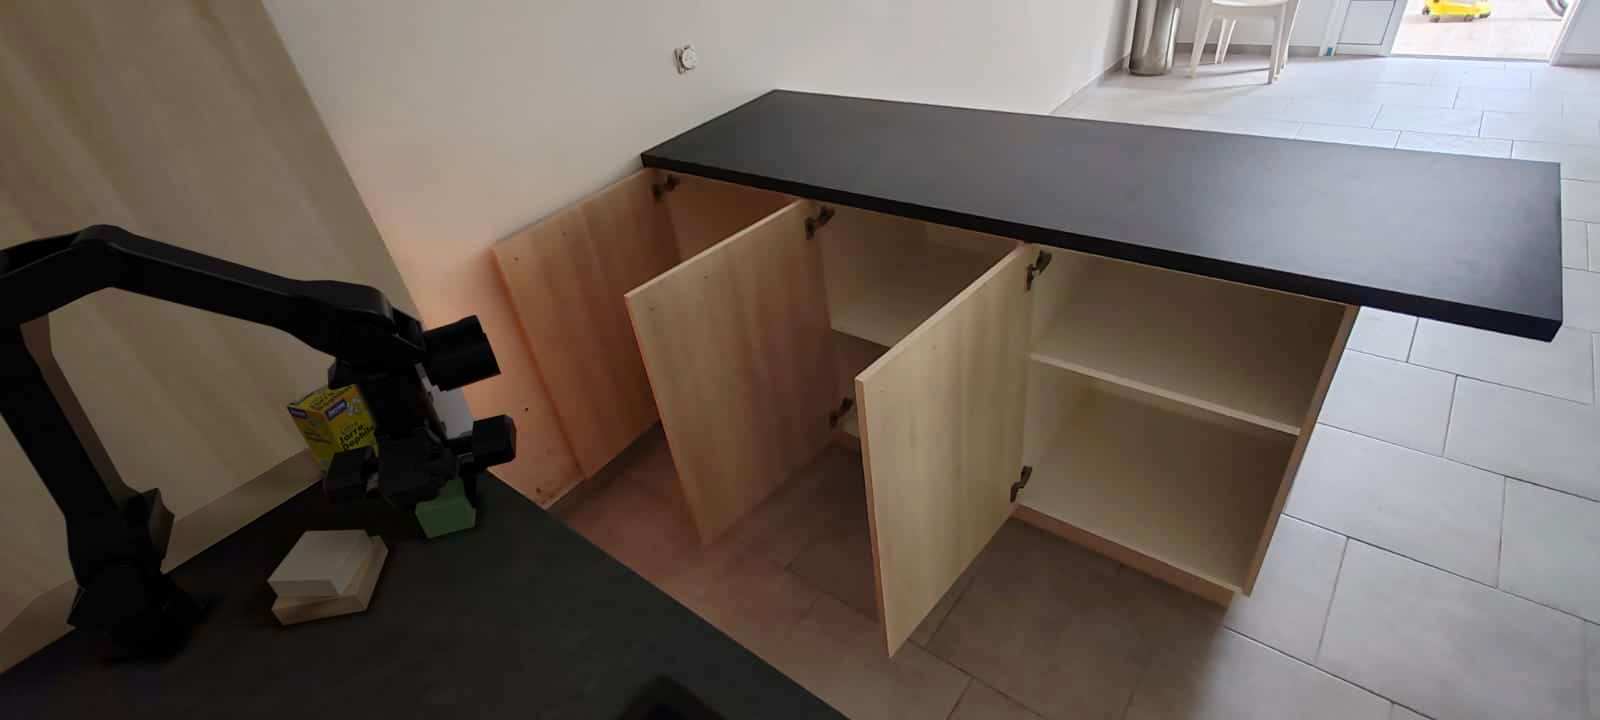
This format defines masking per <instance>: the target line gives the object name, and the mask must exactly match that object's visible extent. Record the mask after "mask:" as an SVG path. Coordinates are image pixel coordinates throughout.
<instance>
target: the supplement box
mask: <svg viewBox="0 0 1600 720" xmlns="http://www.w3.org/2000/svg"><path fill="white" fill-rule="evenodd" d="M294 401H295V400H294ZM291 402H292V403H291ZM291 402H289V403H288V404H286V406H285V407H286V410H287V409H288V410H289V411H288V410H287V411H288V413H289V415H290V414H291V415H290V417H291V416H292V417H291V418H292V420H293V422H294V423H295V425H296V428H297V429H298V431H299V433H300V434H301V436H302V438H303V437H304V438H303V440H304V442H305V443H306V442H307V443H306V445H307V444H308V445H309V446H308V445H307V446H308V448H309V447H310V448H311V450H312V452H313V453H314V455H315V457H316V458H317V460H318V462H319V464H320V465H321V467H322V468H323V470H322V469H321V471H322V473H323V474H324V475H325V474H326V471H327V469H328V466H329V463H330V460H331V458H332V456H333V455H334V453H337V452H341V451H345V450H350V449H354V448H359V447H363V446H367V445H368V446H372V447H373V448H374V450H375V452H376V457H378V445H377V443H376V441H375V439H376V438H375V436H374V434H373V433H374V430H375V425H374V423H373V421H372V420H371V418H370V416H369V414H368V412H367V410H366V408H365V406H364V404H363V402H362V400H361V398H360V396H359V394H358V392H357V390H356V388H355V386H354V384H353V385H349V386H346V387H343V388H340V389H337V390H330V389H329V388H328V384H327V385H324V386H323V387H320V388H319V389H316V390H315V391H313V392H311V393H310V394H307V395H305V396H304V397H302V398H300V399H299V400H297V401H295V402H293V401H291ZM310 448H309V449H310ZM311 450H310V451H311ZM312 452H311V453H312ZM313 453H312V454H313ZM314 455H313V456H314ZM315 457H314V458H315ZM317 460H316V461H317ZM318 462H317V463H318ZM319 464H318V465H319ZM321 467H320V468H321Z"/></svg>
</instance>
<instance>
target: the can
mask: <svg viewBox="0 0 1600 720" xmlns="http://www.w3.org/2000/svg"><path fill="white" fill-rule="evenodd" d="M415 365H416V367H417V370H418V372H419V374H420V376H421V379H422V381H423V383H424V385H425V388H426V390H427V392H430V391H431V394H432V396H433V398H434V400H433V405H434V408H435V410H436V412H437V414H438V417H439V419H440V421H441V422H442V421H444V423H445V425H446V427H447V430H446V435H447V437H448V439H450V438H455V437H458V436H459V435H460V434H461V433H463V432H465V431H469V430H472V429H473V421H475V419H474V416H473V414H472V412H471V409H470V407H469V404H468V401H467V399H466V396H465V394H464V392H463V390H462V387H461V388H458V389H455V390H452V391H449V392H447V391H443V392H440V390H439V388H438V386H437V385H436V386H433V387H432V386H431V384H430V382H429V380H428V377H427V375H426V373H425V370H424V368H423V365H422V363H418V364H415Z"/></svg>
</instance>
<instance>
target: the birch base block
mask: <svg viewBox="0 0 1600 720" xmlns="http://www.w3.org/2000/svg"><path fill="white" fill-rule="evenodd" d="M368 537H369V538H370V540H371V542H372V544H373V545H374V546H373V548H372V549H371V551H370V552H369V554H368V555H367V557H366V558H365V560H364V561H363V563H362V564H361V566H360V567H359V569H358V570H357V572H356V573H355V575H354V576H353V578H352V579H351V581H350V582H349V584H348V585H347V587H346V588H345V590H344V591H343V593H342V594H341V596H307V597H279V596H278V595H277V597H276V600H275V602H274V603H273V606H272V607H271V612H272V613H273V614H274V615H275V618H276V619H278V621H279V622H280V624H281V625H282V626H287V625H293V624H298V623H303V622H309V621H314V620H319V619H326V618H331V617H335V616H341V615H348V614H352V613H359V612H363V611H367V608H368V606H369V603H370V601H371V599H372V595H373V593H374V590H375V587H376V585H377V582H378V579H379V576H380V574H381V571H382V568H383V567H384V563H385V560H386V559H387V555H388V553H389V549H388V548H387V546H386V544H385V542H384V540H383V538H382V536H381V535H374V536H368Z"/></svg>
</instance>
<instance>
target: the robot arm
mask: <svg viewBox="0 0 1600 720" xmlns="http://www.w3.org/2000/svg"><path fill="white" fill-rule="evenodd" d="M108 288H112V289H115V290H116V289H117V290H120V291H124V292H129V293H133V294H137V295H141V296H145V297H148V298H153V299H157V300H161V301H165V302H169V303H173V304H177V305H182V306H185V307H189V308H192V309H193V308H194V309H198V310H201V311H205V312H209V313H213V314H218V315H221V316H224V317H225V316H226V317H229V318H234V319H237V320H241V321H242V320H243V321H246V322H250V323H254V324H259V325H261V326H262V325H263V326H265V327H270V328H273V329H276V330H279V331H282V332H285V333H286V334H289V335H290V336H292V337H294V338H296V339H297V340H299V341H300V342H302V343H304V344H305V345H307V346H308V347H310V348H311V349H313V350H314V351H315V350H316V351H318V352H320V353H323V354H326V355H329V356H331V357H334V361H333V363H331V365H330V366H329V367H328V369H327V379H328V388H329V389H330V390H337V389H340V388H343V387H346V386H349V385H353V384H354V386H355V388H356V390H357V392H358V394H359V396H360V398H361V400H362V402H363V404H364V406H365V408H366V410H367V412H368V414H369V416H370V418H371V420H372V421H373V423H374V425H375V430H374V433H373V434H374V436H375V438H376V439H375V441H376V443H377V445H378V457H376V452H375V450H374V448H373V447H372V446H368V445H367V446H363V447H359V448H354V449H350V450H345V451H341V452H337V453H334V455H333V456H332V458H331V460H330V463H329V466H328V469H327V471H326V474H324V476H323V480H322V482H321V484H322V490H323V493H324V494H325V496H326V498H327V499H328V502H329V503H331V504H333V505H339V504H343V503H346V502H352V501H355V500H359V499H363V496H365V499H367V500H369V501H373V500H380V499H384V500H386V501H387V503H388V504H390V505H391V507H392V508H394V509H405V510H407V511H408V512H410V513H411V514H412V515H414V516H415V517H417V516H416V514H415V510H416V505H417V503H419V502H424V501H425V502H428V501H431V500H434V499H436V498H437V497H438V496H439V494H440V492H441V488H442V487H446V482H448V481H449V480H454V479H455V478H456V477H457V473H458V478H459V479H462V481H463V484H464V488H465V491H466V494H467V497H468V500H469V503H470V504H471V506H472V508H473V509H475V508H476V509H477V508H478V476H479V475H481V474H484V473H485V472H486V471H487V470H488V468H491V467H495V466H496V467H497V466H499V465H505V464H508V463H512V461H514V460H515V459H516V458H517V436H518V434H517V433H518V430H517V429H518V428H517V426H516V423H515V420H514V419H513V418H512V417H510V416H509V415H507V414H505V413H503V414H497V415H493V416H490V417H489V416H488V417H485V418H481V419H477V420H474V421H473V429H472V430H469V431H465V432H463V433H461V434H460V435H459V436H458V437H455V438H450V439H448V437H447V435H446V430H447V427H446V425H445V423H444V421H442V422H441V421H440V419H439V417H438V414H437V412H436V410H435V408H434V405H433V400H434V398H433V396H432V394H431V391H430V392H427V390H426V388H425V385H424V383H423V381H422V379H421V376H420V374H419V372H418V370H417V367H416V365H415V364H418V363H422V365H423V368H424V370H425V373H426V375H427V377H428V380H429V382H430V384H431V386H432V387H433V386H436V385H437V386H438V388H439V390H440V392H443V391H447V392H449V391H452V390H455V389H458V388H461V389H462V388H463V387H466V386H469V385H473V384H475V383H478V382H479V383H480V382H482V381H486V380H488V379H491V378H493V377H496V376H500V375H502V372H501V369H500V366H499V364H498V361H497V358H496V355H495V353H494V350H493V348H492V345H491V343H490V340H489V338H488V335H487V333H486V332H484V329H483V327H482V324H481V321H480V319H479V317H478V315H477V314H472V315H468V316H465V317H462V318H461V319H459V320H457V321H454V322H450V323H448V324H444V325H441V326H438V327H434V328H431V329H428V330H424V328H423V324H422V321H420V320H419V319H417V318H416V317H414V316H412V315H410V314H409V313H407V312H404V311H402V310H400V309H399V308H396V307H395V306H393V305H392V304H391V302H390V300H389V299H388V297H387V296H386V294H385V293H384V292H382V291H381V290H380V289H378V288H376V287H373V286H370V285H367V284H362V283H354V282H347V281H340V280H334V279H315V280H313V279H311V280H304V279H297V278H291V277H290V278H289V277H287V276H283V275H278V274H276V273H272V272H268V271H265V270H262V269H257V268H254V267H251V266H247V265H243V264H240V263H237V262H233V261H230V260H226V259H224V258H223V259H222V258H219V257H215V256H212V255H208V254H206V253H202V252H198V251H195V250H191V249H187V248H184V247H181V246H177V245H173V244H171V243H167V242H164V241H159V240H157V239H152V238H149V237H145V236H142V235H139V234H135V233H133V232H130V231H128V230H127V229H125V228H122V227H120V226H118V225H113V224H107V223H101V224H92V225H90V226H87V227H84V228H83V229H80V230H76V231H72V232H70V233H64V234H59V235H58V234H57V235H51V236H46V237H41V238H35V239H31V240H27V241H24V242H21V243H18V244H15V245H11V246H8V247H4V248H2V249H0V416H1V418H2V419H3V421H4V423H5V424H6V426H7V427H8V429H9V430H10V432H11V434H12V435H13V437H14V438H15V441H16V442H17V443H18V445H19V446H20V448H21V449H22V451H23V453H24V454H25V456H26V458H27V459H28V461H29V462H30V464H31V466H32V468H33V469H34V470H35V472H36V474H37V475H38V477H39V478H40V480H41V482H42V483H43V485H44V486H45V488H46V490H47V491H48V493H49V495H50V496H51V498H52V499H53V501H54V503H55V504H56V507H58V509H59V510H60V513H62V516H63V518H64V521H65V530H66V531H65V532H66V541H67V542H66V543H67V553H68V555H67V556H68V559H69V563H70V566H71V569H72V573H73V577H74V579H75V582H76V585H77V588H76V592H75V595H74V598H73V601H72V604H71V607H70V609H69V612H68V615H67V618H66V621H65V622H66V624H67V625H69V626H71V627H73V628H76V629H78V630H80V631H83V632H85V633H91V632H94V631H96V630H100V629H104V631H106V633H107V634H108V635H109V636H110V637H111V638H112V639H113V640H114V641H115V643H114V645H113V646H112V647H111V648H110V649H109V651H108V652H106V655H105V657H106V659H107V660H108V661H119V660H133V659H145V658H147V659H148V658H159V657H169V656H171V655H173V654H174V653H175V651H177V649H178V648H179V647H180V645H181V644H182V642H183V641H184V640H185V638H186V637H187V636H188V635H189V633H190V632H191V631H192V629H193V628H194V627H195V625H196V624H197V623H198V622H199V620H200V619H201V617H202V616H203V615H204V613H205V612H206V611H207V609H208V608H209V607H210V606H211V604H212V600H210V598H209V597H204V598H203V597H202V598H192V597H190V595H189V594H188V593H187V591H185V589H184V588H183V587H182V586H179V585H178V584H177V582H176V581H175V580H174V579H173V578H172V577H171V575H170V574H169V573H163V572H162V570H161V569H162V564H163V560H165V559H166V557H167V554H168V553H167V552H168V548H169V544H170V539H171V534H172V530H173V526H174V522H175V517H176V514H175V513H174V512H172V511H171V510H169V509H168V508H167V507H166V505H165V504H164V501H163V497H162V492H161V489H160V488H159V487H154V488H151V489H148V490H146V491H142V492H141V491H139V490H137V489H134V488H132V487H131V486H129V485H128V484H126V482H125V481H123V478H122V477H121V475H120V473H119V471H118V470H117V468H116V466H115V464H114V462H113V460H112V458H111V457H110V455H109V453H108V451H107V450H106V448H105V446H104V445H103V443H102V441H101V438H100V437H99V435H98V434H97V432H96V430H95V428H94V426H93V425H92V422H91V421H90V419H89V417H88V416H87V415H88V414H86V412H85V409H84V408H83V407H82V404H81V403H80V401H79V399H78V397H77V396H76V394H75V392H74V390H73V388H72V387H71V385H70V383H69V381H68V378H66V376H65V374H64V372H63V370H62V369H61V366H60V365H59V363H58V361H57V360H56V358H55V355H54V353H53V348H52V338H51V327H50V325H51V324H50V315H49V314H50V313H53V312H55V311H56V310H57V311H58V310H59V309H60V308H63V307H65V306H67V305H69V304H71V303H74V302H75V301H77V300H80V299H81V298H83V297H86V296H88V295H92V294H94V293H97V292H100V291H103V290H105V289H106V290H107V289H108ZM456 458H457V459H456ZM457 460H458V461H459V466H458V472H457Z"/></svg>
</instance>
